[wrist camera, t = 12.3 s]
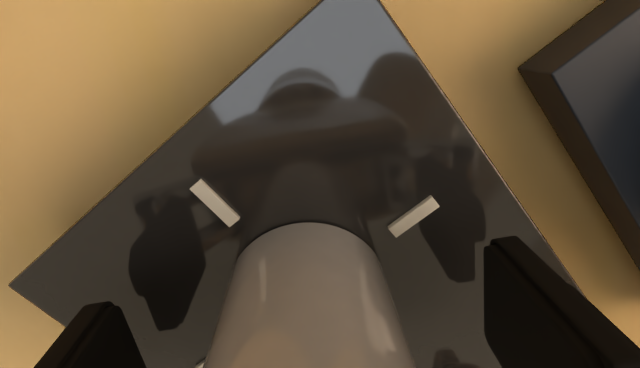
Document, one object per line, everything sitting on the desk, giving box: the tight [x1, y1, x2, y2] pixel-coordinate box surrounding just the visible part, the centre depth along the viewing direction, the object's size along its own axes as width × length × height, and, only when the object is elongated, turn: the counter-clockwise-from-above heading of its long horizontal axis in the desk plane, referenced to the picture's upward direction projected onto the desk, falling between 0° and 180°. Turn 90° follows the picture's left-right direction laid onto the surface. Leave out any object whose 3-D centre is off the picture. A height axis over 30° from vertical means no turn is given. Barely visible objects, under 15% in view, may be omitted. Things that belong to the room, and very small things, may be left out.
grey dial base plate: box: [8, 0, 587, 368], centre depth 13 cm, size 15×12×3 cm
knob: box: [203, 223, 417, 368], centre depth 8 cm, size 4×4×5 cm
